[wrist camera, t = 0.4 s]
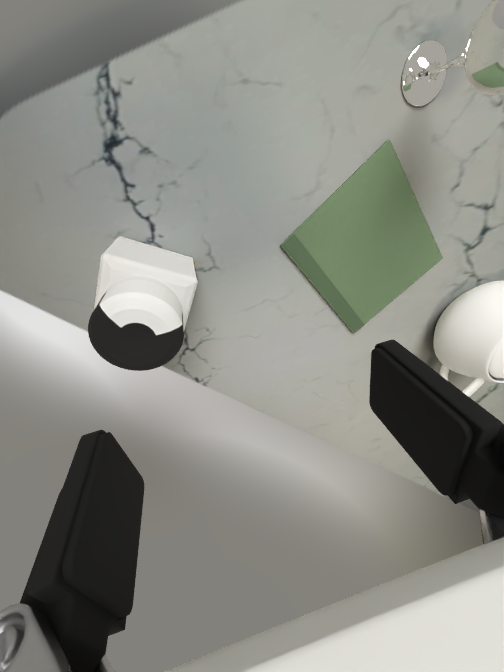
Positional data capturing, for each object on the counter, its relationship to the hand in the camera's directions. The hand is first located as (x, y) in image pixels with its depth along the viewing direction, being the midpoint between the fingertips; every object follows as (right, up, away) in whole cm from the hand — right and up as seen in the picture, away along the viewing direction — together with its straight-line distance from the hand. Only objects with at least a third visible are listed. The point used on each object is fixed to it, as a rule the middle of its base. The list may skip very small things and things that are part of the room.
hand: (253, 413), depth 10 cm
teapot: (+31, +6, +31) cm, 45 cm away
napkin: (+13, +12, +23) cm, 29 cm away
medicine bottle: (-10, +8, +19) cm, 23 cm away
